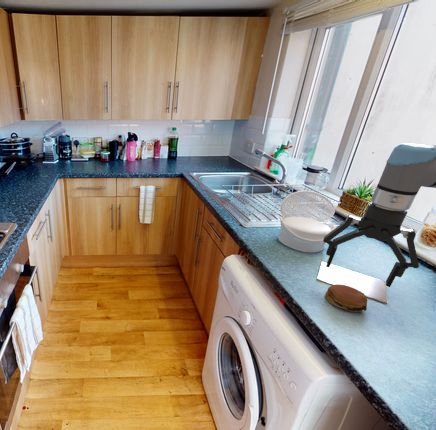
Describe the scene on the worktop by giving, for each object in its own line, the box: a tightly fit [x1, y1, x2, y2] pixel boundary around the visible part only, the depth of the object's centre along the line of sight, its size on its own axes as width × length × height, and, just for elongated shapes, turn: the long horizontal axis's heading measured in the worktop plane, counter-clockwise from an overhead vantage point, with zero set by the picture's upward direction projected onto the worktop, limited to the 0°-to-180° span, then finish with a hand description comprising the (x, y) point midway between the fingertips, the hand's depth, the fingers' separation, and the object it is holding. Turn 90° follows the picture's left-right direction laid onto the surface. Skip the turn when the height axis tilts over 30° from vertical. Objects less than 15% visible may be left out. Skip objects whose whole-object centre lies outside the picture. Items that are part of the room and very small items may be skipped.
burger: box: [324, 284, 368, 313], centre depth 85 cm, size 10×9×5 cm
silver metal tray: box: [316, 260, 388, 305], centre depth 96 cm, size 18×14×1 cm
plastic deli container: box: [277, 190, 338, 253], centre depth 116 cm, size 20×20×20 cm
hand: (356, 274), depth 82 cm, fingers open, 13 cm apart
